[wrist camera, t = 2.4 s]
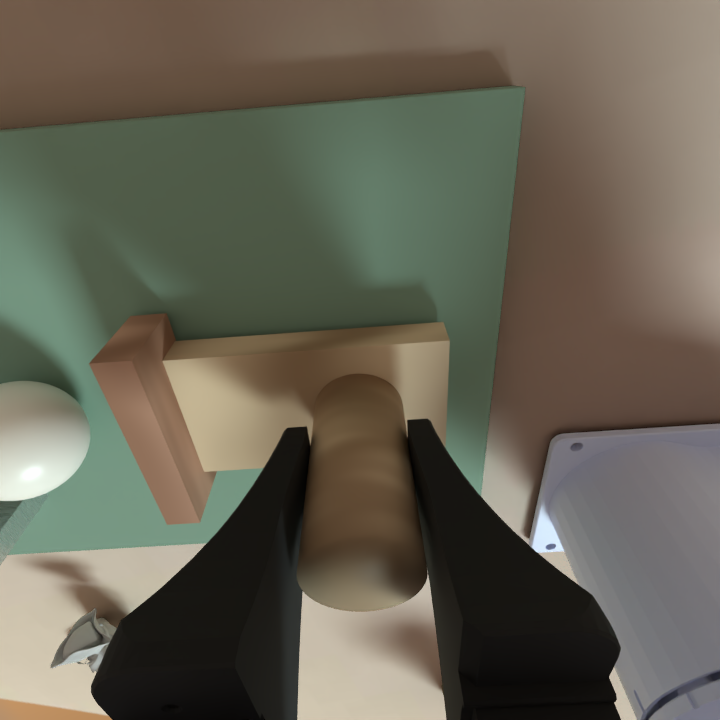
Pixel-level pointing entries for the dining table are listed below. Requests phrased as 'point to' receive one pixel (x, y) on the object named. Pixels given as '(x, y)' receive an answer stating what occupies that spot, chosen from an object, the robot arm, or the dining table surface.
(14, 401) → the ball
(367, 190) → the pitch
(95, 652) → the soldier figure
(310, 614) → the dining table surface
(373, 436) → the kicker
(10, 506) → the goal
